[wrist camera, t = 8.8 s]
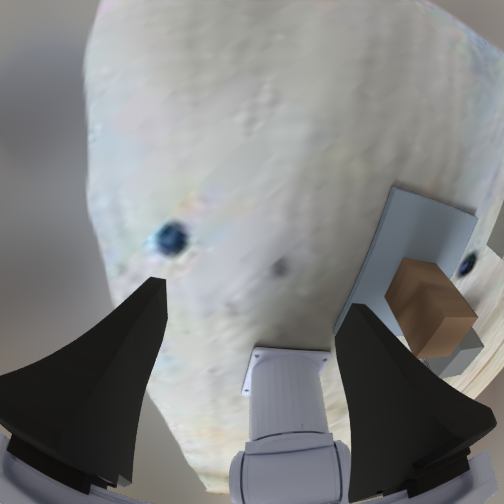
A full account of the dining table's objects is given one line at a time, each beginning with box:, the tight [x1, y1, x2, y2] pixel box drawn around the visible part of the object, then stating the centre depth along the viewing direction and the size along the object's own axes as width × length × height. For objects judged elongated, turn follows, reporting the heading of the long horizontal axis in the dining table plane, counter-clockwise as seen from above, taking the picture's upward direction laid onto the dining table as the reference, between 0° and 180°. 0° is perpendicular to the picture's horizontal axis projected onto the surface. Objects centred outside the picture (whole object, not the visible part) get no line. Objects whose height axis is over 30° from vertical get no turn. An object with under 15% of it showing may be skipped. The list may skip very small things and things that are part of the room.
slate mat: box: [333, 186, 478, 336], centre depth 21 cm, size 14×10×1 cm
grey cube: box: [426, 327, 484, 379], centre depth 23 cm, size 5×5×5 cm
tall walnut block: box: [384, 258, 478, 359], centre depth 17 cm, size 4×4×7 cm
